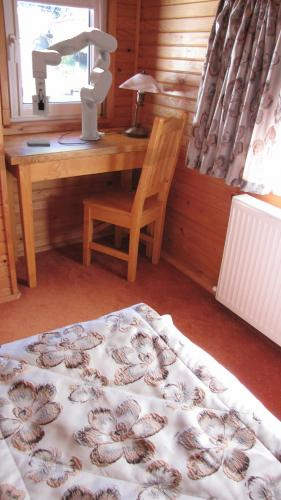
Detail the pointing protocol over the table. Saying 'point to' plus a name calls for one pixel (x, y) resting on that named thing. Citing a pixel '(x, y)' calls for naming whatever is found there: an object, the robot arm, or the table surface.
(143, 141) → the table surface
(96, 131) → the robot arm
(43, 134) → the table surface
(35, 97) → the small box
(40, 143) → the grey board
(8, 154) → the table surface
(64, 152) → the table surface
